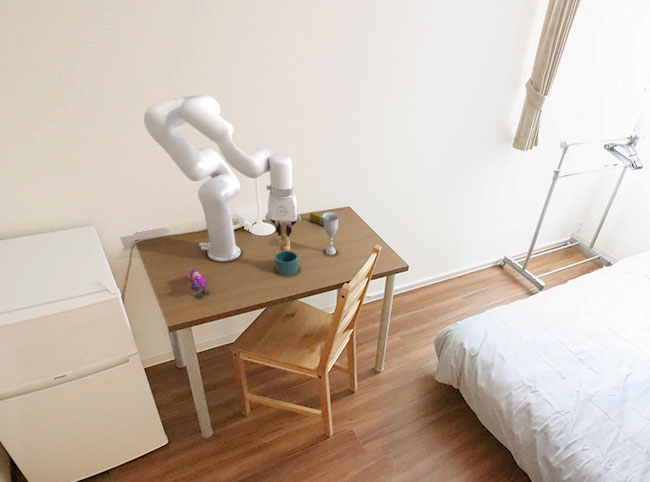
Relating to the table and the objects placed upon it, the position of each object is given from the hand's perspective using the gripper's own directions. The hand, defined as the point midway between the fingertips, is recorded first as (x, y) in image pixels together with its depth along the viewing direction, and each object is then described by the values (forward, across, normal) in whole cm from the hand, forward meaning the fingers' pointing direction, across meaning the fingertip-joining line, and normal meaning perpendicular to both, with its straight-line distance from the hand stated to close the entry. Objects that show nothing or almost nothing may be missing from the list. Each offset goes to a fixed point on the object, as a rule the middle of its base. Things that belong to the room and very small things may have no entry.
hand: (284, 234), depth 178 cm
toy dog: (+17, -29, -16) cm, 37 cm away
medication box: (+17, +12, +41) cm, 46 cm away
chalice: (+17, +18, +15) cm, 28 cm away
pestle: (+7, 0, 0) cm, 7 cm away
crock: (+17, +1, 0) cm, 17 cm away
